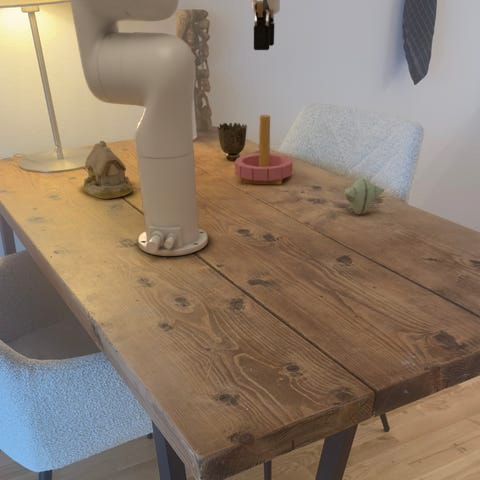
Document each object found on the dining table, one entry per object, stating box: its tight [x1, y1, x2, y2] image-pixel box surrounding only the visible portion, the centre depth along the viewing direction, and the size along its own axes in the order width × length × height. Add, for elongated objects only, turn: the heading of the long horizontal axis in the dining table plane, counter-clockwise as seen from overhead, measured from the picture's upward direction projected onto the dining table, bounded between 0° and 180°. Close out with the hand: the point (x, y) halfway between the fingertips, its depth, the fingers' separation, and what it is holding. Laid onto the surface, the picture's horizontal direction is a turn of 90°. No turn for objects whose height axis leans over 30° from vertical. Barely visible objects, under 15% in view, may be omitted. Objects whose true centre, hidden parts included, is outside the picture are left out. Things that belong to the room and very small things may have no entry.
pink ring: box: [234, 152, 294, 181], centre depth 132 cm, size 13×13×3 cm
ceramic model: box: [82, 140, 134, 200], centre depth 125 cm, size 14×11×10 cm
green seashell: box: [344, 177, 385, 216], centre depth 111 cm, size 8×4×7 cm, turn 103°
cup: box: [216, 122, 248, 162], centre depth 145 cm, size 8×7×8 cm
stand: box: [242, 114, 284, 185], centre depth 129 cm, size 9×9×13 cm
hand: (264, 47), depth 120 cm, fingers open, 9 cm apart
